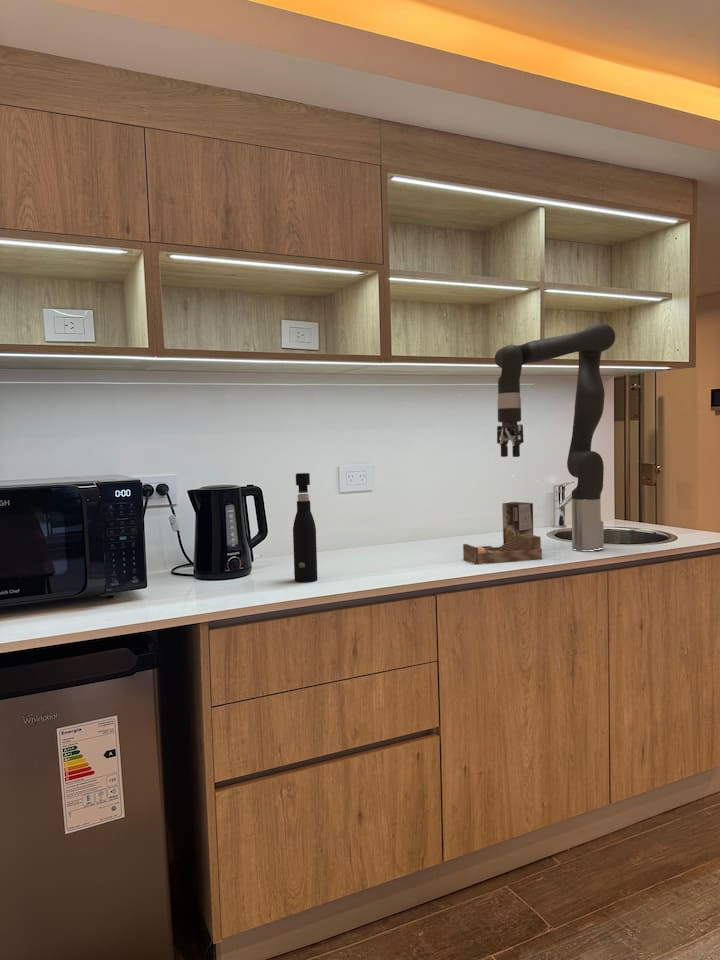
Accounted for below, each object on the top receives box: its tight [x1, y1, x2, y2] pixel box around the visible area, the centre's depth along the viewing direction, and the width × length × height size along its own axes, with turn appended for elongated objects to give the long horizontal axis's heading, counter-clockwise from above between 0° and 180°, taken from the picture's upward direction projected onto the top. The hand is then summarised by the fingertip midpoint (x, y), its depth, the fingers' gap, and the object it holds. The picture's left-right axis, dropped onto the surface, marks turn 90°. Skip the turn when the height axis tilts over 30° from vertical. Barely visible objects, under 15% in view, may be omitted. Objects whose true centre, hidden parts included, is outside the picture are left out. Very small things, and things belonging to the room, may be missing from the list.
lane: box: [462, 534, 543, 565], centre depth 213 cm, size 22×9×7 cm, turn 104°
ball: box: [476, 546, 486, 553], centre depth 211 cm, size 5×5×5 cm
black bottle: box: [292, 472, 319, 584], centre depth 188 cm, size 6×6×30 cm
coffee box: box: [501, 501, 534, 545], centre depth 232 cm, size 9×6×16 cm
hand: (510, 456), depth 222 cm, fingers open, 8 cm apart
